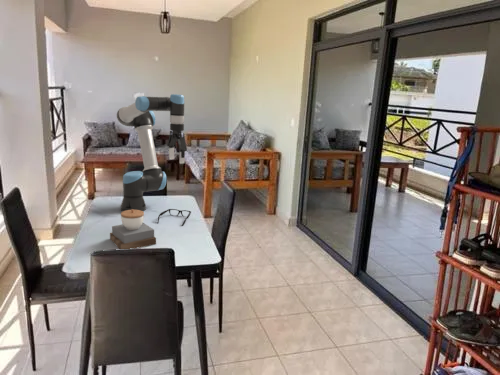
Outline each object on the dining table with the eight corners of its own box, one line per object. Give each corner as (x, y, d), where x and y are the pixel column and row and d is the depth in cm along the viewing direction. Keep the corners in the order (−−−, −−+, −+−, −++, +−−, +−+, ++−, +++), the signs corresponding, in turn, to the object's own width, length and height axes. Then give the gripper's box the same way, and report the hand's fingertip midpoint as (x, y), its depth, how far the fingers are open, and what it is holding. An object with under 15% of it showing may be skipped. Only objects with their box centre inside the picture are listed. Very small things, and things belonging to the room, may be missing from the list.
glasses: (193, 218, 235) (193, 210, 234) (183, 227, 217) (183, 218, 216) (167, 216, 237) (167, 208, 236) (155, 224, 220) (155, 215, 219)
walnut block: (110, 240, 195) (109, 232, 194) (143, 234, 205) (142, 227, 204) (121, 252, 182) (121, 244, 181) (156, 245, 191) (156, 237, 190)
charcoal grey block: (112, 233, 193) (111, 226, 192) (140, 228, 202) (140, 221, 201) (124, 243, 182) (124, 235, 181) (154, 237, 191) (154, 229, 190)
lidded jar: (121, 232, 184) (120, 213, 182) (121, 224, 194) (120, 206, 192) (144, 230, 188) (144, 212, 186) (143, 223, 198) (143, 205, 195)
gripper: (193, 125, 207) (192, 164, 212) (173, 121, 226) (173, 157, 231) (180, 125, 202) (180, 165, 207) (161, 121, 222) (161, 157, 227)
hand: (176, 161), depth 219 cm, fingers open, 13 cm apart
